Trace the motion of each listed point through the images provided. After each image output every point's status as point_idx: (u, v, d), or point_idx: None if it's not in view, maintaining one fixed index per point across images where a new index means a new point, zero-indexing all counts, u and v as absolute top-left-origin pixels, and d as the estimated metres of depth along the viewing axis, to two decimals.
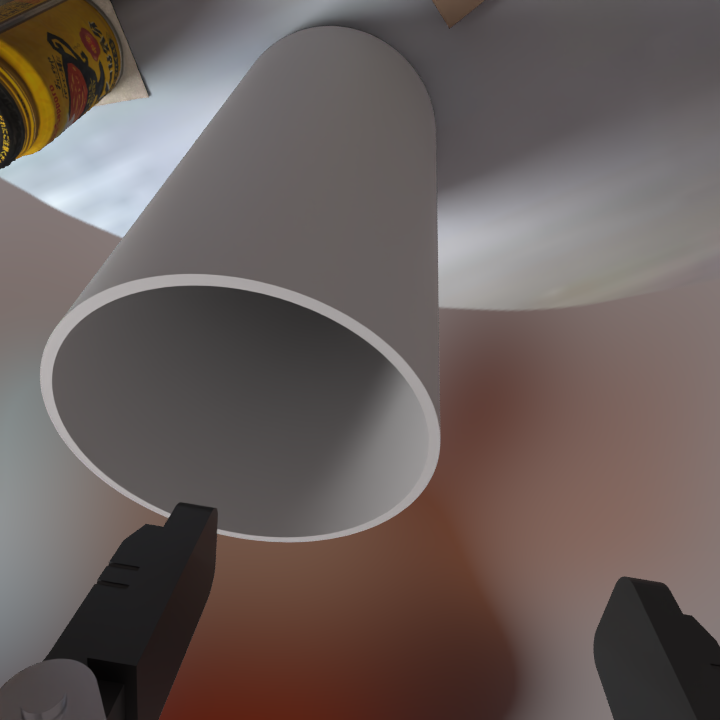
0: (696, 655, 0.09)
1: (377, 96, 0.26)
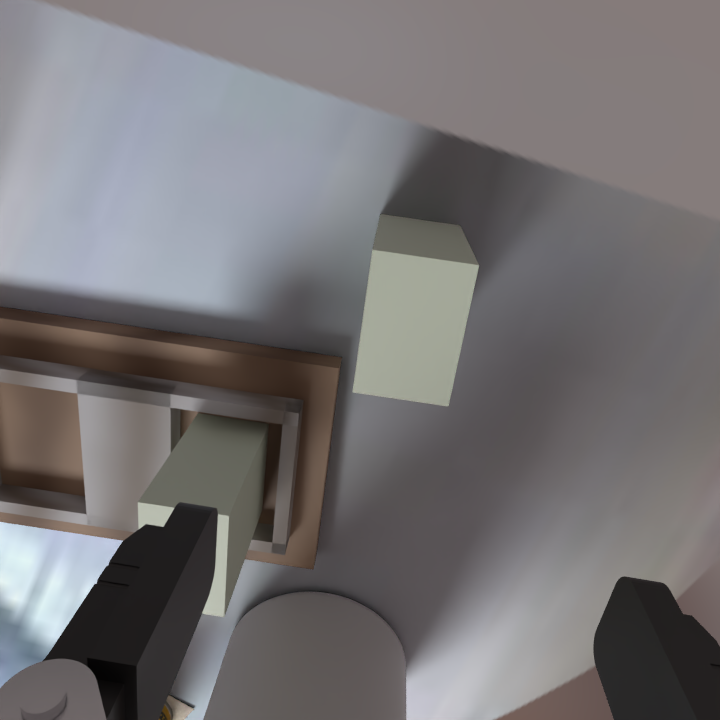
0: (696, 655, 0.09)
1: None
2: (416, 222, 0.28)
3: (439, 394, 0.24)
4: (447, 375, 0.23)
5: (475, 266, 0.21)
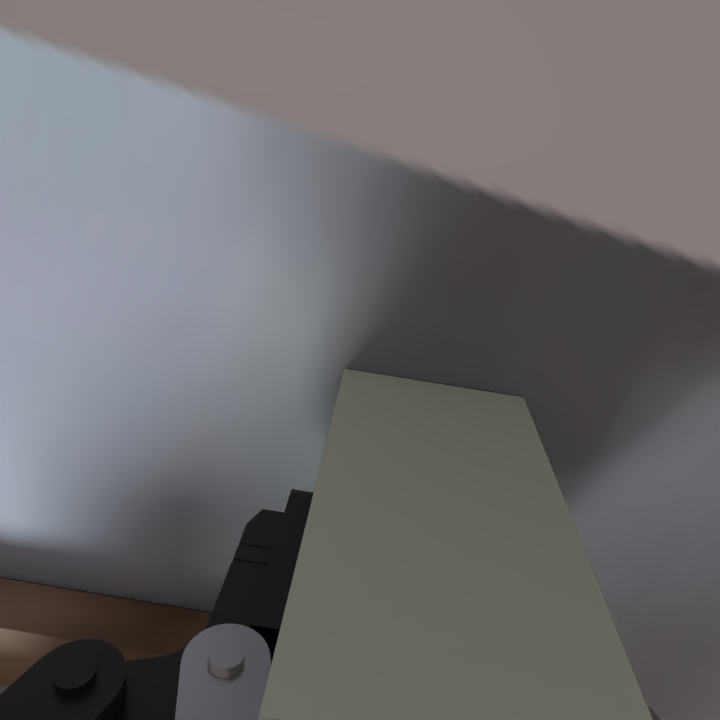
0: None
1: None
2: (425, 400, 0.12)
3: None
4: None
5: None
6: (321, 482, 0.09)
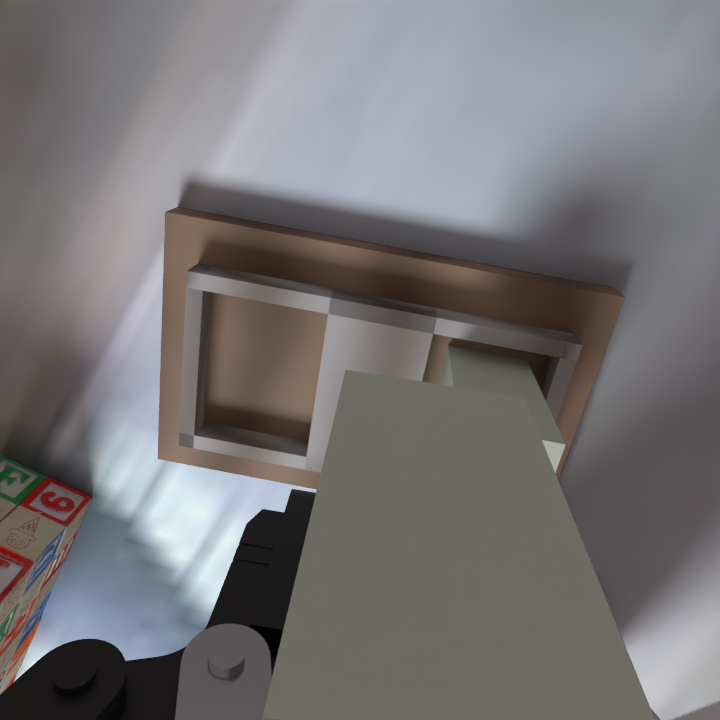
0: None
1: None
2: (427, 401, 0.12)
3: None
4: None
5: None
6: (323, 483, 0.09)
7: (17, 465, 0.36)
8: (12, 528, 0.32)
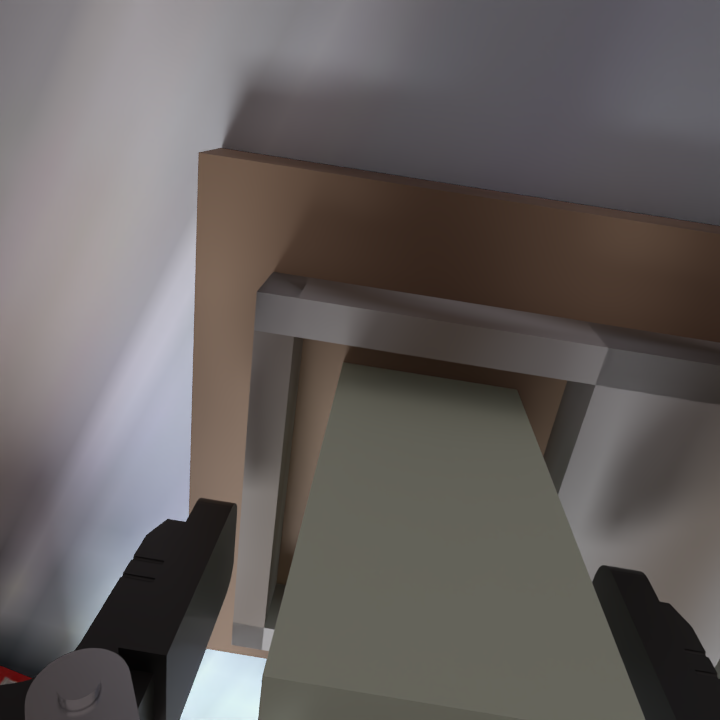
0: (670, 640, 0.10)
1: None
2: (421, 392, 0.12)
3: None
4: None
5: None
6: (321, 468, 0.09)
7: None
8: None
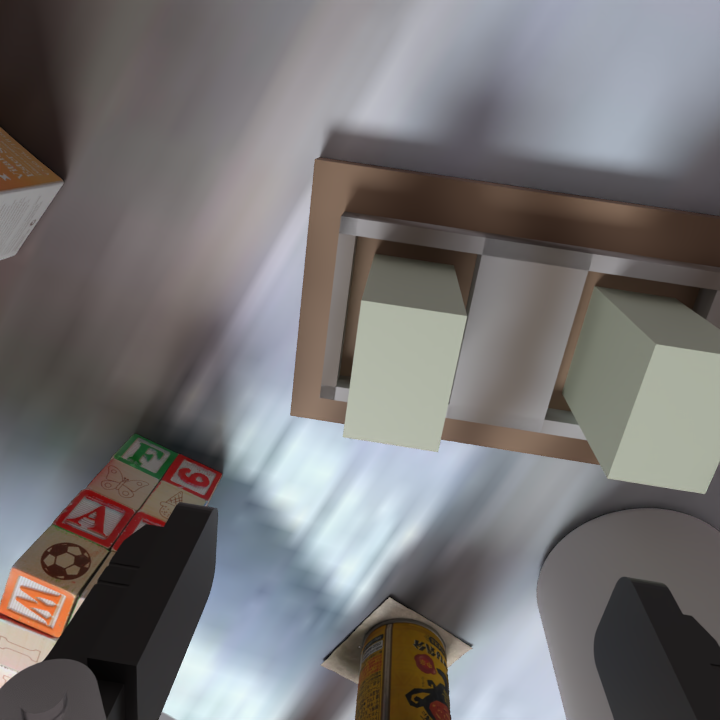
0: (696, 655, 0.09)
1: None
2: (409, 263, 0.28)
3: (429, 440, 0.24)
4: (436, 422, 0.23)
5: (463, 317, 0.22)
6: (370, 275, 0.25)
7: (150, 443, 0.36)
8: (162, 501, 0.33)
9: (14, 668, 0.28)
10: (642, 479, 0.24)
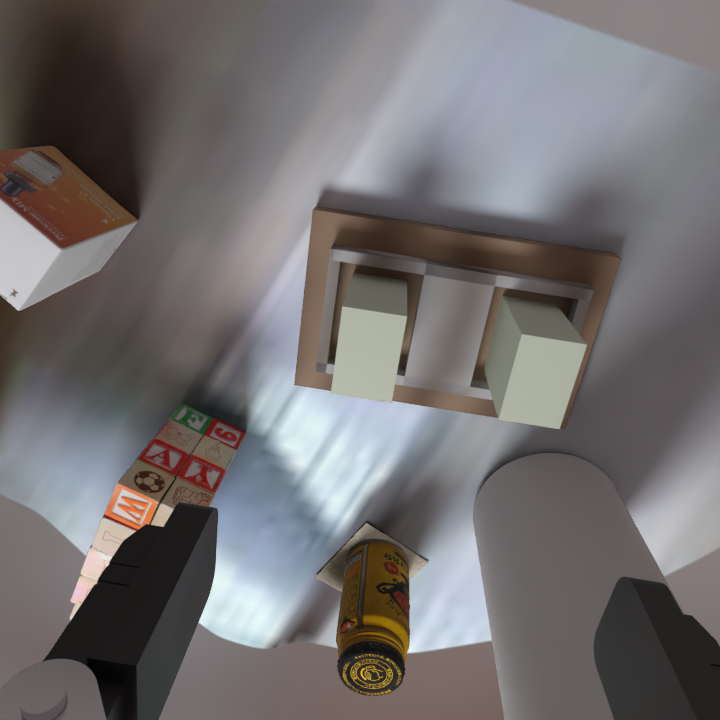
0: (696, 655, 0.09)
1: (561, 521, 0.41)
2: (376, 279, 0.42)
3: (385, 395, 0.38)
4: (390, 383, 0.37)
5: (404, 317, 0.35)
6: (349, 289, 0.39)
7: (193, 410, 0.50)
8: (206, 449, 0.46)
9: (112, 554, 0.41)
10: (520, 419, 0.37)
